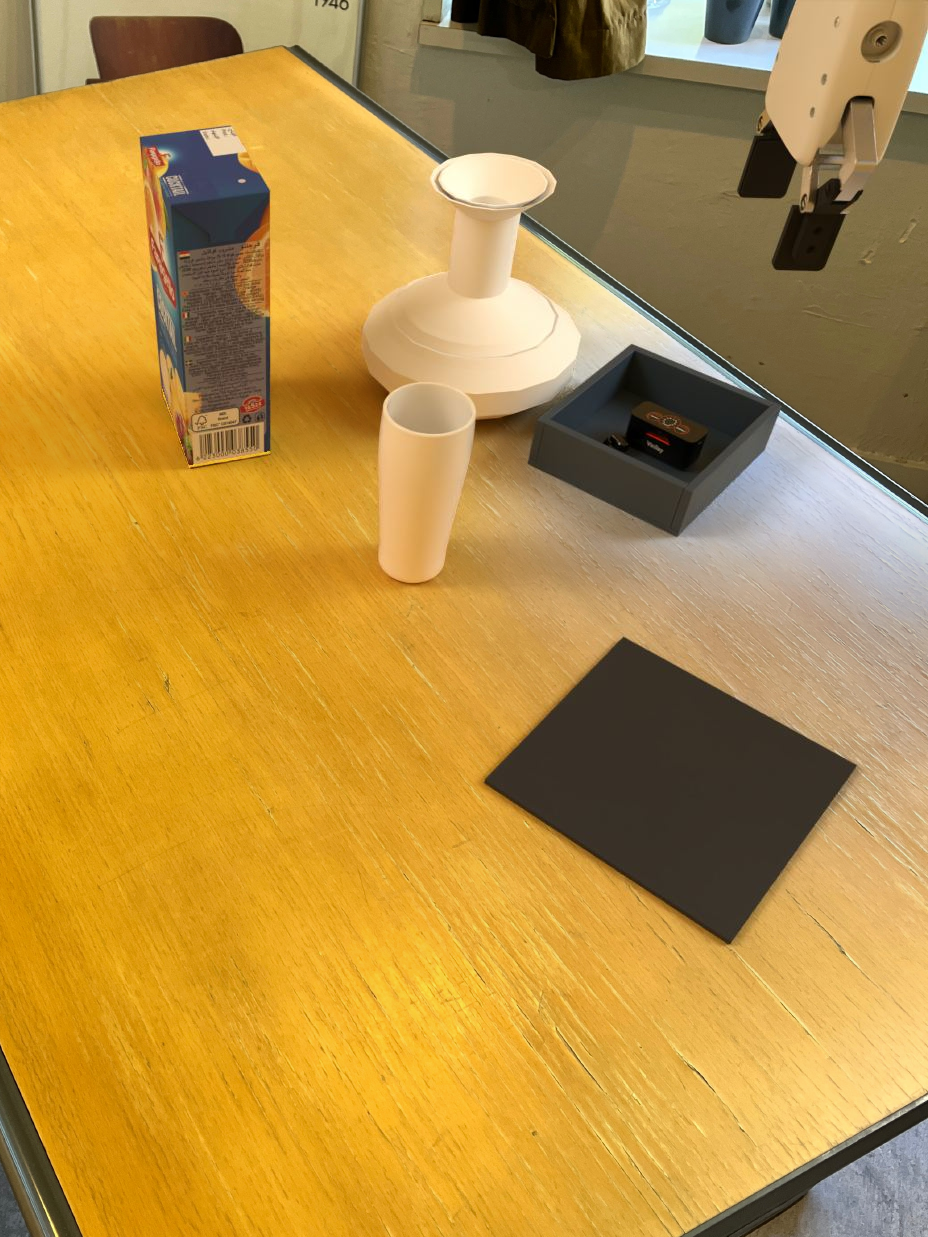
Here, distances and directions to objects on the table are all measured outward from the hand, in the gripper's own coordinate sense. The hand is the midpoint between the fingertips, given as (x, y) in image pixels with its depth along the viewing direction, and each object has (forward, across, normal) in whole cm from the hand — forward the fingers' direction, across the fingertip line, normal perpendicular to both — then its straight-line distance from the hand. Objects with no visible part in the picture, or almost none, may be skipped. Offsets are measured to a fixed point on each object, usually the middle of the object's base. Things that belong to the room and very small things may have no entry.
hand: (777, 230), depth 75 cm
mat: (+26, -26, +5) cm, 37 cm away
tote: (+26, +9, +1) cm, 27 cm away
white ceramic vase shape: (+26, +20, +16) cm, 37 cm away
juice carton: (+26, +12, +39) cm, 49 cm away
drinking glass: (+26, -6, +22) cm, 34 cm away
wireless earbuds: (+25, +9, +1) cm, 27 cm away
